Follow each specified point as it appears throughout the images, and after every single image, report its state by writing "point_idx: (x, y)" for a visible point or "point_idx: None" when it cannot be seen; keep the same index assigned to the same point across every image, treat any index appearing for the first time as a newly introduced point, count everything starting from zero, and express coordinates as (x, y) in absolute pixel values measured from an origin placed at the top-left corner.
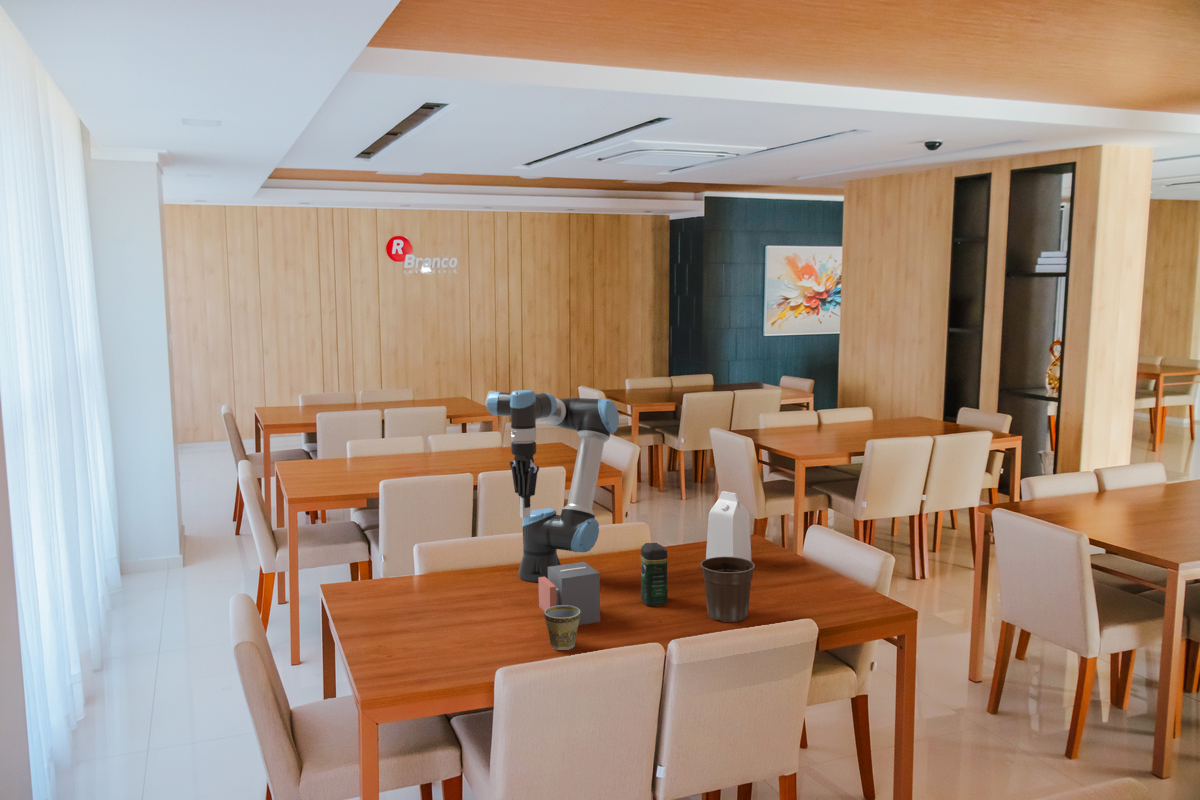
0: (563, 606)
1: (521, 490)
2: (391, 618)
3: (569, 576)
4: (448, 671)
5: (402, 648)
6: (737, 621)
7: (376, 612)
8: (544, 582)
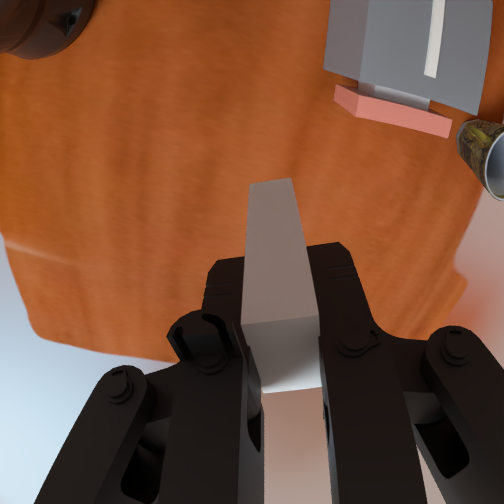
0: (494, 142)
1: (261, 452)
2: None
3: (476, 86)
4: (420, 305)
5: None
6: None
7: (153, 329)
8: (407, 126)
